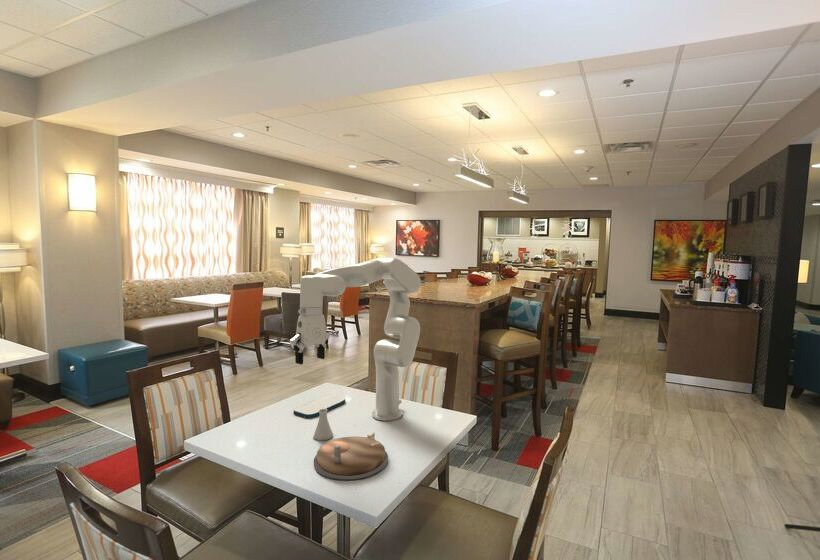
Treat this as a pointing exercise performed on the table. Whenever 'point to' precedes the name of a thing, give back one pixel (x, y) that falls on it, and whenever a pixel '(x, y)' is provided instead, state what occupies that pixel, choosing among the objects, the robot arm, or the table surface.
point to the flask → (323, 427)
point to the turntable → (350, 455)
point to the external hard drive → (319, 406)
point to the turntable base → (352, 477)
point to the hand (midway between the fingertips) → (310, 361)
